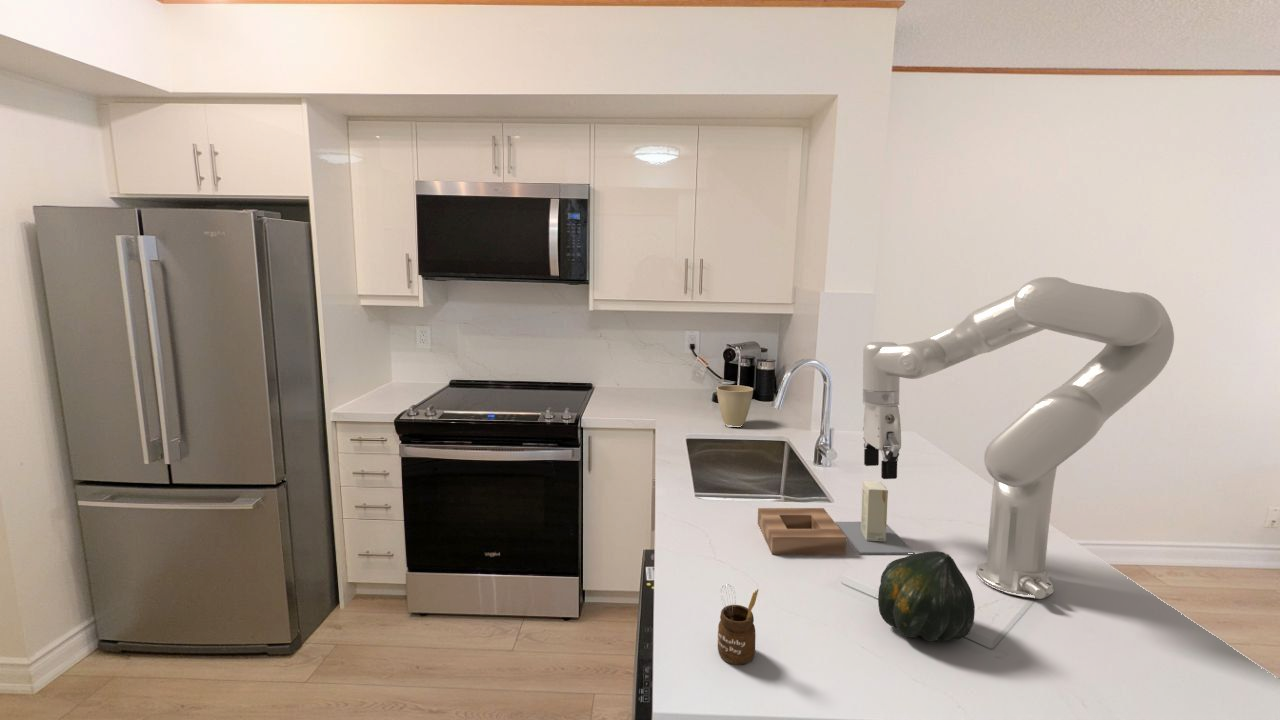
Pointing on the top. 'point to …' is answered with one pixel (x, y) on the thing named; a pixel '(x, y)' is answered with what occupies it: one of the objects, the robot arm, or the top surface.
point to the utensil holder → (737, 632)
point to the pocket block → (801, 531)
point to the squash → (926, 597)
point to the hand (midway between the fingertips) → (879, 471)
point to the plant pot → (734, 403)
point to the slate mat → (873, 547)
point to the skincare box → (874, 511)
